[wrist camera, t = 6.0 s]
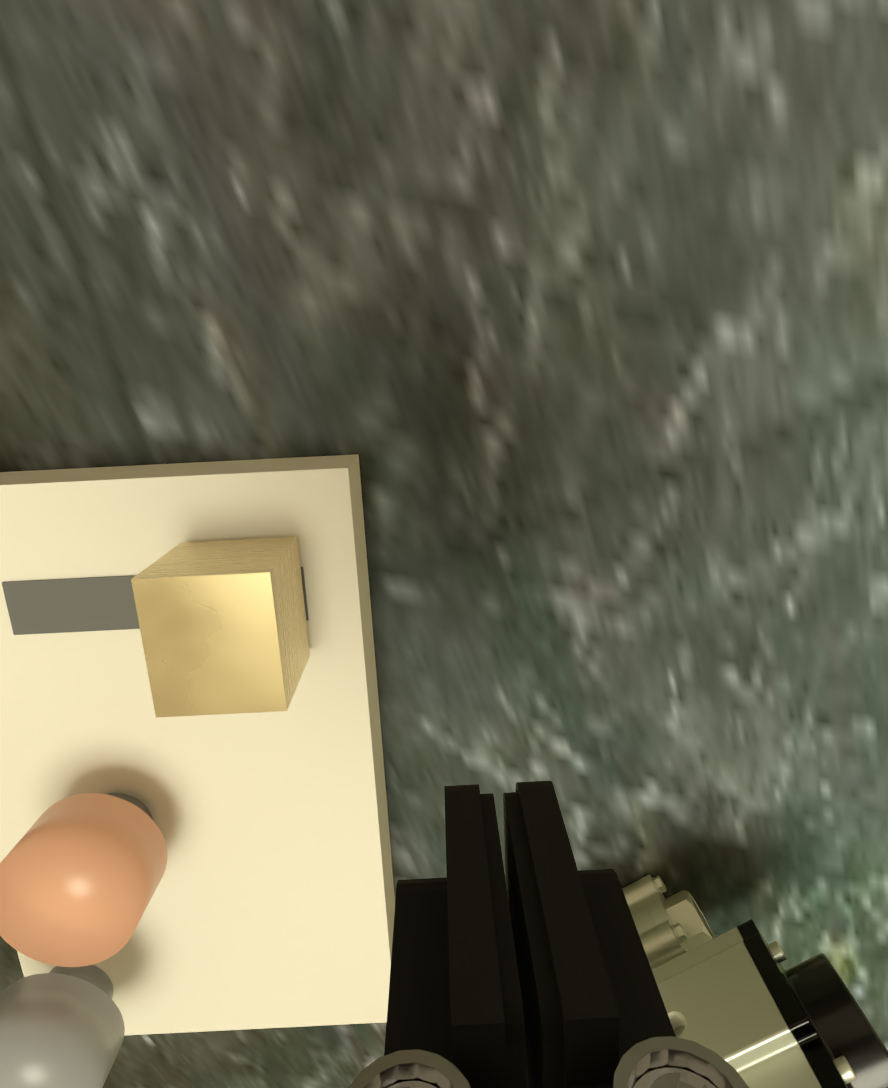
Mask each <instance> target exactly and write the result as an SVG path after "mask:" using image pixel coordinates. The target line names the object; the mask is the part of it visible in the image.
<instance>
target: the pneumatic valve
mask: <svg viewBox="0 0 888 1088" xmlns="http://www.w3.org/2000/svg"><path fill="white" fill-rule="evenodd" d="M622 890H623V892H624V895H625V898H626V901H627V903H628V906H629V909H630V912H631V914H632V917H633V920H634V923H635V925H636V928H637V931H638V934H639V936H640V939H641V942H642V945H643V947H644V950H645V953H646V956H647V958H648V961H649V964H650V967H651V969H652V972H653V975H654V978H655V980H656V983H657V986H658V989H659V991H660V994H661V997H662V1000H663V1002H664V1005H665V1008H666V1011H667V1013H668V1016H669V1019H670V1022H671V1024H672V1027H673V1030H674V1033H675V1035H676V1037H678V1038H682V1039H687V1040H691V1041H695V1042H697V1043H699V1044H700V1045H702V1046H704V1047H706V1048H708V1049H710V1050H712V1051H714V1052H716V1053H717V1054H718V1055H719V1056H721V1057H722V1058H723V1059H724V1060H725V1061H727V1062H728V1063H729V1064H730V1065H731V1066H732V1067H734V1068H735V1069H736V1071H737V1072H738V1073H739V1075H740V1076H741V1077H742V1079H743V1080H744V1081H745V1083H746V1084H747V1085H748V1087H749V1088H888V1051H887V1049H886V1048H885V1046H884V1044H883V1043H882V1041H881V1040H880V1038H879V1037H878V1035H877V1033H876V1032H875V1030H874V1029H873V1027H872V1026H871V1024H870V1023H869V1021H868V1019H867V1018H866V1016H865V1015H864V1013H863V1012H862V1010H861V1009H860V1007H859V1006H858V1004H857V1002H856V1001H855V999H854V998H853V996H852V995H851V993H850V992H849V990H848V989H847V987H846V986H845V984H844V982H843V981H842V979H841V978H840V976H839V975H838V973H837V972H836V970H835V969H834V967H833V966H832V964H831V963H830V961H829V960H828V958H827V957H826V956H825V955H824V954H822V953H820V954H818V955H816V956H814V957H812V958H810V959H808V960H806V961H804V962H802V963H800V964H798V965H796V966H794V967H791V968H789V969H787V970H784V968H783V967H782V965H781V964H780V962H782V961H784V960H786V959H787V957H786V955H785V954H784V952H783V950H782V949H781V947H780V945H779V944H778V942H776V941H775V942H773V943H771V944H769V945H768V943H767V942H766V940H765V939H764V937H763V936H762V934H761V932H760V931H759V929H758V928H757V926H756V925H755V923H754V922H753V920H752V919H751V920H749V921H747V922H745V923H743V924H741V925H739V926H737V927H735V928H733V929H731V930H729V931H727V932H725V933H723V934H721V935H719V936H717V937H715V935H714V933H713V931H712V929H711V927H710V925H709V924H708V922H707V920H706V918H705V916H704V915H703V913H702V911H701V909H700V908H699V906H698V905H697V903H696V901H695V900H694V898H693V897H692V895H691V894H690V893H689V892H688V891H686V890H682V891H680V892H678V893H676V894H674V895H672V896H671V897H669V898H667V899H666V898H665V897H664V895H663V892H665V891H667V889H666V887H665V885H664V883H663V881H662V879H661V878H660V876H657V877H655V878H654V877H651V875H650V874H649V875H647V876H645V877H643V878H641V879H640V880H638V881H636V882H634V883H632V884H630V885H628V886H626V887H624V888H622Z"/></svg>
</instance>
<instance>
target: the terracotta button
mask: <svg viewBox="0 0 888 1088" xmlns="http://www.w3.org/2000/svg"><path fill="white" fill-rule="evenodd" d="M167 856H168V854H167V846H166V843H165V839H164V837H163V835H162V833H161V831H160V829H159V828H158V826H157V825H156V823H155V822H154V821H153V817H152V815H151V813H150V811H149V810H148V808H147V807H146V806H145V805H144V804H143V803H142V802H140V801H139V800H138V799H136V798H134V797H132V796H129V795H126V794H121V793H109V794H99V793H85V794H77V795H73V796H69V797H67V798H64V799H62V800H60V801H58V802H56V803H54V804H53V805H52V806H50V807H49V808H48V809H47V810H46V811H45V812H44V813H43V814H42V815H41V816H40V817H39V818H38V820H37V821H36V822H35V823H34V824H33V825H32V827H31V828H30V829H29V830H28V831H27V832H26V834H25V835H24V836H23V837H22V838H21V839H20V841H19V842H18V843H17V844H16V845H15V846H14V848H13V849H12V850H11V851H10V852H9V853H8V855H7V856H6V857H5V858H4V859H3V860H2V862H1V863H0V936H1V937H2V938H3V939H4V940H5V941H6V942H7V943H8V944H9V945H11V946H12V947H13V948H14V949H16V950H17V951H19V952H20V953H22V954H24V955H25V956H27V957H29V958H32V959H34V960H36V961H39V962H42V963H45V964H49V965H54V966H61V967H81V966H88V965H93V964H96V963H99V962H102V961H104V960H106V959H108V958H110V957H112V956H113V955H115V954H116V953H118V952H119V951H120V950H121V949H122V948H123V947H124V946H125V945H126V944H127V942H128V941H129V939H130V938H131V936H132V934H133V932H134V930H135V929H136V927H137V925H138V923H139V921H140V919H141V917H142V915H143V913H144V911H145V909H146V908H147V906H148V904H149V902H150V900H151V898H152V896H153V894H154V892H155V890H156V888H157V886H158V885H159V883H160V881H161V879H162V877H163V875H164V872H165V870H166V865H167Z"/></svg>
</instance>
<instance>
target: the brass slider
mask: <svg viewBox="0 0 888 1088" xmlns="http://www.w3.org/2000/svg"><path fill="white" fill-rule="evenodd" d="M131 582H132V588H133V593H134V599H135V604H136V610H137V616H138V621H139V627H140V632H141V638H142V643H143V649H144V654H145V660H146V666H147V671H148V677H149V682H150V688H151V693H152V699H153V704H154V710H155V715H156V718H158V717H178V716H198V715H218V714H238V713H258V712H278V711H287V710H288V707H289V705H290V703H291V700H292V698H293V695H294V693H295V691H296V688H297V686H298V683H299V681H300V678H301V676H302V674H303V671H304V669H305V666H306V664H307V662H308V659H309V657H310V650H309V640H308V631H307V622H306V613H305V604H304V595H303V586H302V576H301V567H300V558H299V549H298V540H297V537H282V538H262V539H242V540H221V541H201V542H181V543H180V544H178V545H177V546H176V547H174V548H173V549H172V550H170V551H169V552H167V553H166V554H165V555H163V556H162V557H161V558H159V559H158V560H157V561H155V562H154V563H152V564H151V565H150V566H148V567H147V568H146V569H144V570H143V571H142V572H140V573H139V574H137V575H136V576H135V577H133V578H132V579H131Z"/></svg>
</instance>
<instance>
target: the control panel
mask: <svg viewBox="0 0 888 1088" xmlns="http://www.w3.org/2000/svg"><path fill="white" fill-rule="evenodd" d="M282 537H297V540H298V549H299V558H300V567H301V576H302V586H303V595H304V604H305V613H306V622H307V631H308V640H309V650H310V657H309V659H308V662H307V664H306V666H305V669H304V671H303V674H302V676H301V678H300V681H299V683H298V686H297V688H296V691H295V693H294V695H293V698H292V700H291V703H290V705H289V707H288V710H287V711H278V712H258V713H238V714H218V715H198V716H178V717H158V718H156V715H155V710H154V704H153V699H152V693H151V688H150V682H149V677H148V671H147V666H146V660H145V654H144V649H143V643H142V638H141V632H140V627H139V621H138V616H137V610H136V604H135V599H134V593H133V588H132V582H131V579H132V578H133V577H135V576H136V575H137V574H139V573H140V572H142V571H143V570H144V569H146V568H147V567H148V566H150V565H151V564H152V563H154V562H155V561H157V560H158V559H159V558H161V557H162V556H163V555H165V554H166V553H167V552H169V551H170V550H172V549H173V548H174V547H176V546H177V545H178V544H180V543H181V542H201V541H221V540H242V539H262V538H282ZM85 793H99V794H109V793H121V794H126V795H129V796H132V797H134V798H136V799H138V800H139V801H140V802H142V803H143V804H144V805H145V806H146V807H147V808H148V810H149V811H150V813H151V815H152V817H153V821H154V822H155V823H156V825H157V826H158V828H159V829H160V831H161V833H162V835H163V837H164V839H165V843H166V846H167V854H168V856H167V865H166V870H165V872H164V875H163V877H162V879H161V881H160V883H159V885H158V886H157V888H156V890H155V892H154V894H153V896H152V898H151V900H150V902H149V904H148V906H147V908H146V909H145V911H144V913H143V915H142V917H141V919H140V921H139V923H138V925H137V927H136V929H135V930H134V932H133V934H132V936H131V938H130V939H129V941H128V942H127V944H126V945H125V946H124V947H123V948H122V949H121V950H120V951H119V952H118V953H116V954H115V955H113V956H112V957H110V958H108V959H106V960H104V961H102V962H99V963H96V964H93V965H95V966H97V967H99V968H100V969H102V970H103V971H104V972H105V973H106V974H107V975H108V976H109V978H110V979H111V981H112V984H113V989H114V993H113V997H112V1000H113V1001H114V1002H115V1004H116V1005H117V1007H118V1008H119V1010H120V1012H121V1014H122V1017H123V1021H124V1027H125V1033H124V1035H142V1034H162V1033H182V1032H202V1031H222V1030H242V1029H262V1028H282V1027H302V1026H321V1025H341V1024H361V1023H381V1022H387V1011H388V997H389V983H390V969H391V955H392V942H393V928H394V914H395V895H394V883H393V871H392V859H391V846H390V834H389V822H388V810H387V797H386V785H385V773H384V761H383V748H382V736H381V724H380V711H379V699H378V687H377V675H376V662H375V650H374V638H373V626H372V613H371V601H370V589H369V577H368V564H367V552H366V540H365V528H364V515H363V503H362V491H361V479H360V466H359V454H356V455H336V456H316V457H296V458H275V459H255V460H235V461H215V462H195V463H175V464H155V465H135V466H114V467H94V468H74V469H54V470H34V471H14V472H0V863H1V862H2V860H3V859H4V858H5V857H6V856H7V855H8V853H9V852H10V851H11V850H12V849H13V848H14V846H15V845H16V844H17V843H18V842H19V841H20V839H21V838H22V837H23V836H24V835H25V834H26V832H27V831H28V830H29V829H30V828H31V827H32V825H33V824H34V823H35V822H36V821H37V820H38V818H39V817H40V816H41V815H42V814H43V813H44V812H45V811H46V810H47V809H48V808H49V807H50V806H52V805H53V804H54V803H56V802H58V801H60V800H62V799H64V798H67V797H69V796H73V795H77V794H85ZM17 952H18V956H19V960H20V963H21V967H22V971H23V975H24V977H27V976H30V975H35V974H43V973H49V972H50V971H51V970H52V969H53V968H54V967H56V966H54V965H49V964H45V963H42V962H39V961H36V960H34V959H32V958H29V957H27V956H25V955H24V954H22V953H20V952H19V951H17Z"/></svg>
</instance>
